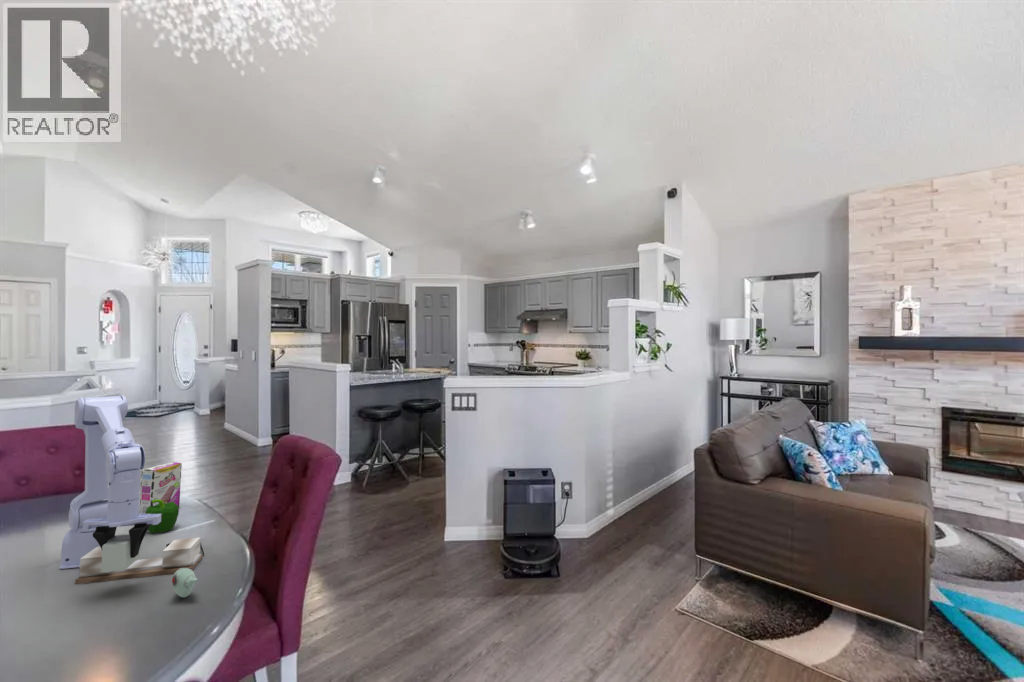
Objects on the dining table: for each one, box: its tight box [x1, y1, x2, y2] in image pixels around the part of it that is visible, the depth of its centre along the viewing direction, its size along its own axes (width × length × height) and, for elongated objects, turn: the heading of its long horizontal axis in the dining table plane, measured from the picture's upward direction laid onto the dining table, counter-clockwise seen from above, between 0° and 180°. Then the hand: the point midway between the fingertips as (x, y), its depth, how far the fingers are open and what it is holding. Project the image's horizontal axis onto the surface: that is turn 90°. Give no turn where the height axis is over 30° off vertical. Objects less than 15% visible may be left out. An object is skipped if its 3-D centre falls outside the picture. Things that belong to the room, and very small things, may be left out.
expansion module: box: [101, 532, 142, 573], centre depth 106 cm, size 4×7×6 cm, turn 17°
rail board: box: [74, 537, 204, 585], centre depth 116 cm, size 24×8×6 cm, turn 107°
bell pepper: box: [145, 499, 180, 534], centre depth 141 cm, size 8×8×10 cm
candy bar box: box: [139, 462, 183, 514], centre depth 155 cm, size 11×5×16 cm, turn 172°
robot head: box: [171, 568, 199, 598], centre depth 103 cm, size 8×4×7 cm, turn 57°
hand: (121, 557), depth 106 cm, fingers closed on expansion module, 4 cm apart
